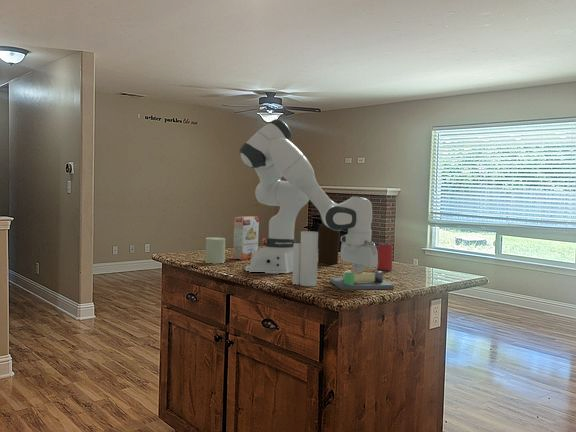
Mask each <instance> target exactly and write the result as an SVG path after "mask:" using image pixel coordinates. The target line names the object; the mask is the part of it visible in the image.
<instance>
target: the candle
mask: <svg viewBox="0 0 576 432" xmlns="http://www.w3.org/2000/svg"><path fill="white" fill-rule="evenodd" d="M291 281H292V282H291V283H292V285H294V284H296V285H295V286H303V287H315V286H317V285H318V284H317V283H318V231H314V230H313V231H308V230H307V231H306V230H305V231H304V230H303V231H300V243H298V242H297V243H296V242H295V243H294V244H293V272H292V279H291ZM299 284H300V285H299Z"/></svg>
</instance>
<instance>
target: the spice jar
mask: <svg viewBox="0 0 576 432" xmlns="http://www.w3.org/2000/svg"><path fill="white" fill-rule="evenodd" d="M351 273H352V272H351ZM352 274H354V283H355V282H383V280H384V271H382V270H374V271H373V272H362V273H354V272H353V273H352Z"/></svg>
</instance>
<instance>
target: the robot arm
mask: <svg viewBox="0 0 576 432" xmlns="http://www.w3.org/2000/svg"><path fill="white" fill-rule="evenodd" d="M291 138H292V131H291V129H290V127H289V126H288V124H287V123H285V121H283V120H282V119H278V118H277V119H273V120H270V121H269V122H268V123H267V124H266V125H265V126H262V127H261V128H260V129H259V130H258V131H256V132H255V133H254V134H253V135H252V136H251V137H250V138H249V139H247V141H246V142H244V143H243V144H242V145H241V147H240V148H239V156H240V158H241V161H242V162H243V163H244V164H245V165H247V167H249V168H250V169H254V171H255V173H256V174H257V176H258V179H259V183H258V184H257V186H256V187H255V192H254V193H255V198H256V200H257V202H258V203H259V204H262V205H266V206H269V207H270V206H271V207H279V210H278V212H277V214H275V215H274V216H271V218H270V219H269V221H268V237H267V238H265V237H263V238H262V239H261V242H262V243H263V247H261V248H259V249H258V251H257V252H256V253H255V254H253V256H252V258H251V259H250V263H249V265H246V266H245V268H244V270H245V272H247V271H249V272H248V273H250V272H265V273H264V274H279V273H286V274H289V273H293V244H294V243H296V238H295V225H296V219H297V217H298V215H299V212H300V211H301V210H302V209H303V207H305V206H306V205H307V203H309V202H311V203H312V204H313V206H314V207H315V208H316V209H317V211H318V212H319V215H320V220H321V222H322V223H323V224H324V225H325V226H326V227H328V228H330V229H333V230H336V231H339V230H340V231H344V230H347V234H344V235H341V236H340V242H341V245H340V258H341V260H342V261H344V262H348V263H352V267H353V273H364V270H365V267H366V268H377V265H378V247H377V245H375V242H373V241H372V237H373V236H372V234H373V233H372V232H373V231H372V222H373V204H372V202H371V201H370V199H368V198H365V197H361V196H357V195H352V196H351V197H350V198H348V199H346V200H344V201H343V202H340V203H337V202H335V201H333V200H332V199H331V198H330V197H329V196H328V194H326V192H325V191H324V190H323V189H322V187H321V186H320V184H319V183H318V181H317V179H316V178H317V177H316V175H315V170H314V168H313V166H312V164H311V163H310V161H309V159H308V158H307V157H306V156H305V154H304V153H303V151H301V150H300V149H299V148H298V147H297V146H296V145H295V144H294V143H293V142H292V141H291V140H292V139H291ZM282 178H284V179H285V180H281V179H282Z"/></svg>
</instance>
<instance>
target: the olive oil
mask: <svg viewBox="0 0 576 432" xmlns="http://www.w3.org/2000/svg"><path fill="white" fill-rule="evenodd" d="M317 232H318V257H317V264H320V265H331V266H332V265H337V264H338V263H339V262H338V261H339V249H340V239H341V230H339V231H336V230H333V229H330V228H328V227H326V226H325V225H324V224H323V222H322V223H321V224H320V225H319V227H318V229H317Z"/></svg>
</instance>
